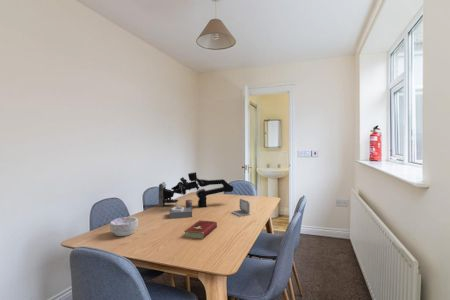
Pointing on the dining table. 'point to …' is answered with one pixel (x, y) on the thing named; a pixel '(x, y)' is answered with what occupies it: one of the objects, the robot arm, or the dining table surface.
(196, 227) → the hardcover book
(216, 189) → the robot arm
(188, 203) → the lens
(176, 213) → the octagon ring plate
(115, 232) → the speckled grey bowl
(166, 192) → the vintage camera
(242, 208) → the handheld gaming console
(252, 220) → the dining table surface
